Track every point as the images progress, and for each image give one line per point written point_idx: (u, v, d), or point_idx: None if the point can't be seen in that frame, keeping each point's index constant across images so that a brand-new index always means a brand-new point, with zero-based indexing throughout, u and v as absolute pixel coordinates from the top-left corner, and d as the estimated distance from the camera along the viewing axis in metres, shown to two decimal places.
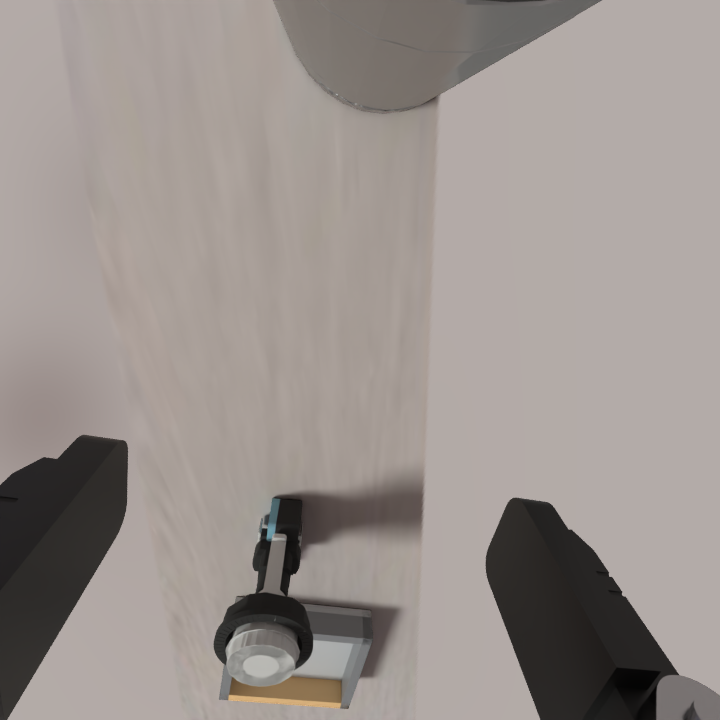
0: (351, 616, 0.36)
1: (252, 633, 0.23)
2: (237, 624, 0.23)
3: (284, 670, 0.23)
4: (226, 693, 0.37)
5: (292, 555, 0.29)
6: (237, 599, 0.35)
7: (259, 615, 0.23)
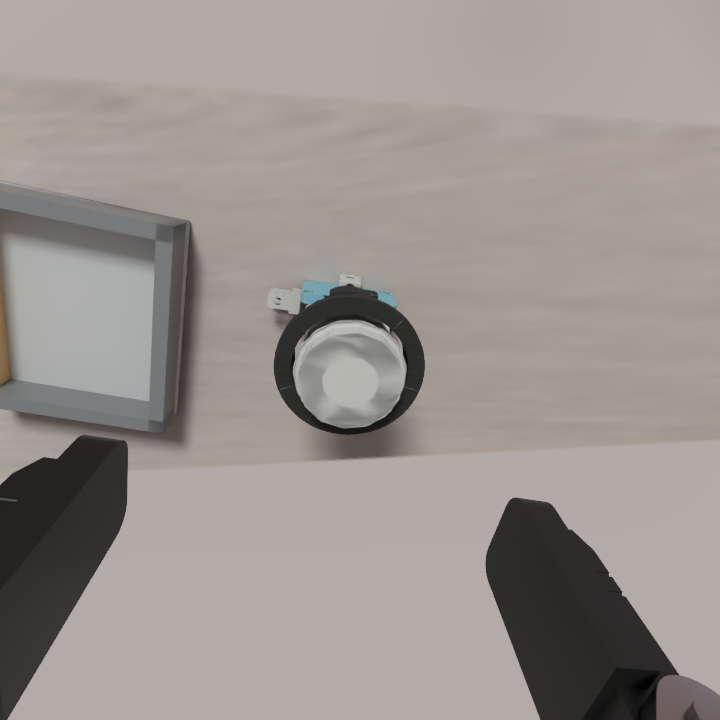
0: (174, 392, 0.25)
1: (400, 364, 0.15)
2: (405, 337, 0.15)
3: (336, 413, 0.15)
4: None
5: None
6: (188, 224, 0.22)
7: (422, 368, 0.16)
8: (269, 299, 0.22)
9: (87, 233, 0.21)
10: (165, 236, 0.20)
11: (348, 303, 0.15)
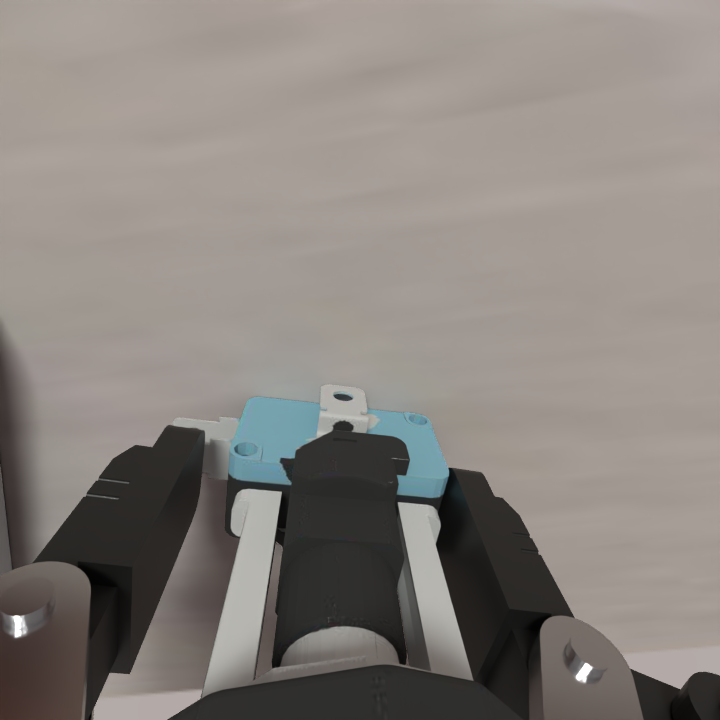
0: None
1: None
2: None
3: None
4: None
5: None
6: None
7: None
8: None
9: None
10: None
11: None
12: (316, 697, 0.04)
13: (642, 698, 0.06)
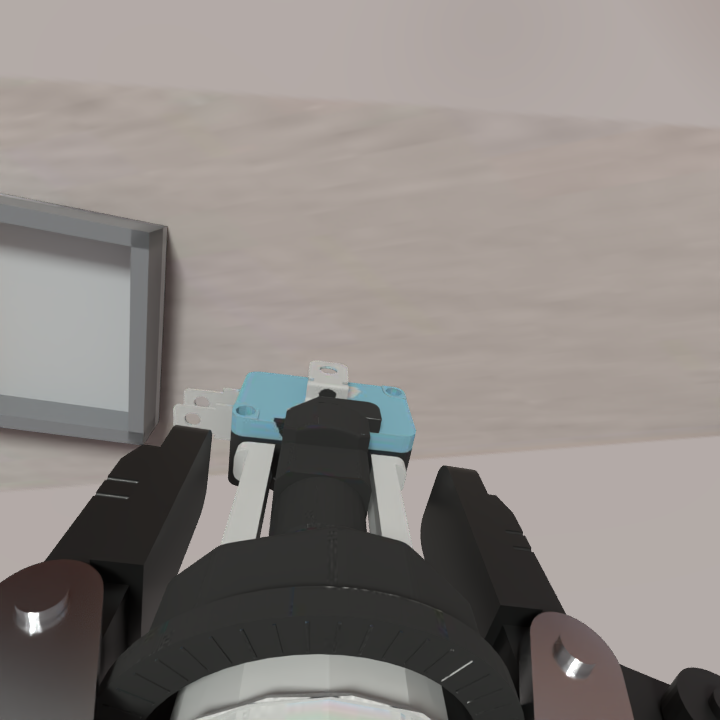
0: (155, 402, 0.24)
1: None
2: (476, 695, 0.05)
3: None
4: None
5: None
6: (165, 229, 0.21)
7: None
8: (176, 416, 0.12)
9: (59, 240, 0.21)
10: (141, 242, 0.19)
11: (296, 631, 0.04)
12: (291, 542, 0.06)
13: (632, 693, 0.06)
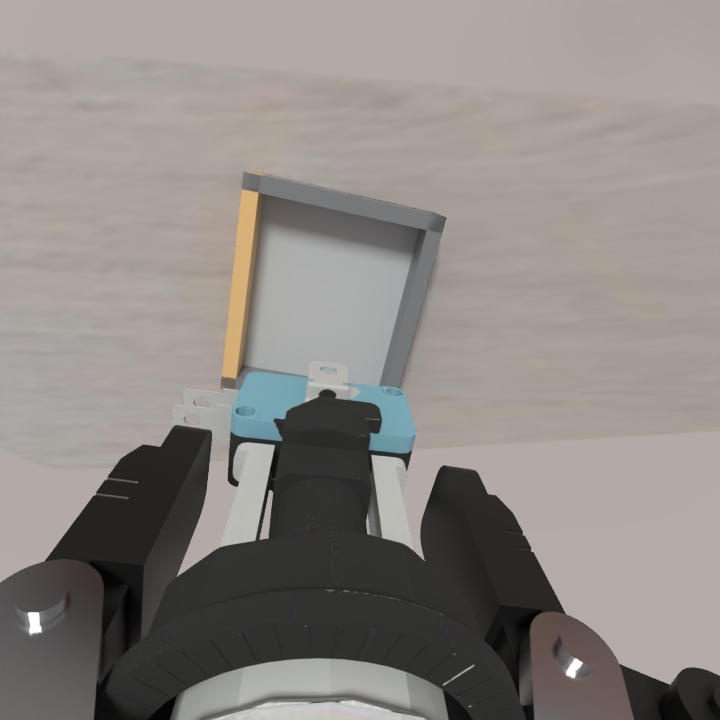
0: None
1: None
2: (478, 700, 0.05)
3: None
4: (262, 188, 0.20)
5: None
6: None
7: None
8: (176, 417, 0.12)
9: (344, 224, 0.23)
10: (436, 226, 0.21)
11: (296, 635, 0.04)
12: (290, 545, 0.06)
13: (632, 694, 0.06)
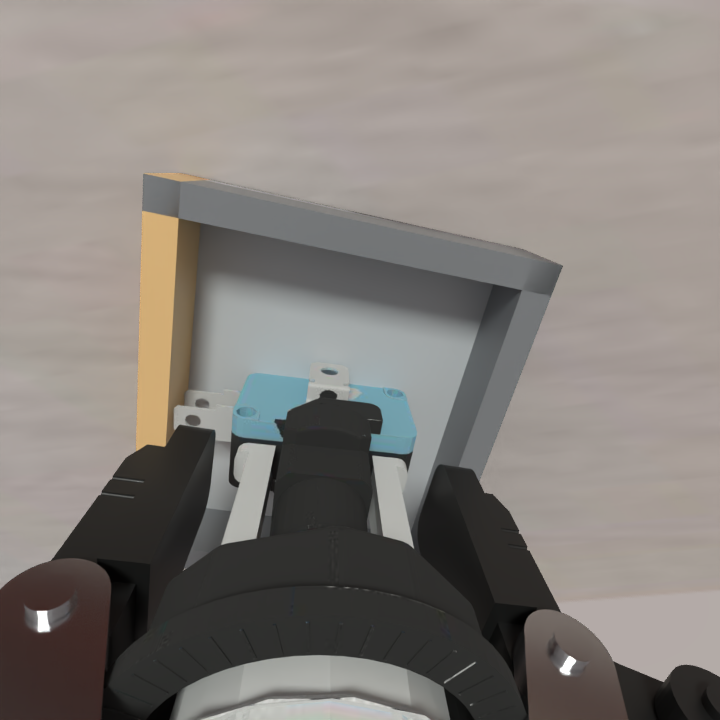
0: None
1: None
2: (479, 698, 0.05)
3: None
4: (187, 209, 0.09)
5: None
6: None
7: None
8: (177, 417, 0.12)
9: (356, 272, 0.12)
10: (541, 283, 0.11)
11: (297, 631, 0.04)
12: (291, 542, 0.06)
13: (626, 691, 0.06)
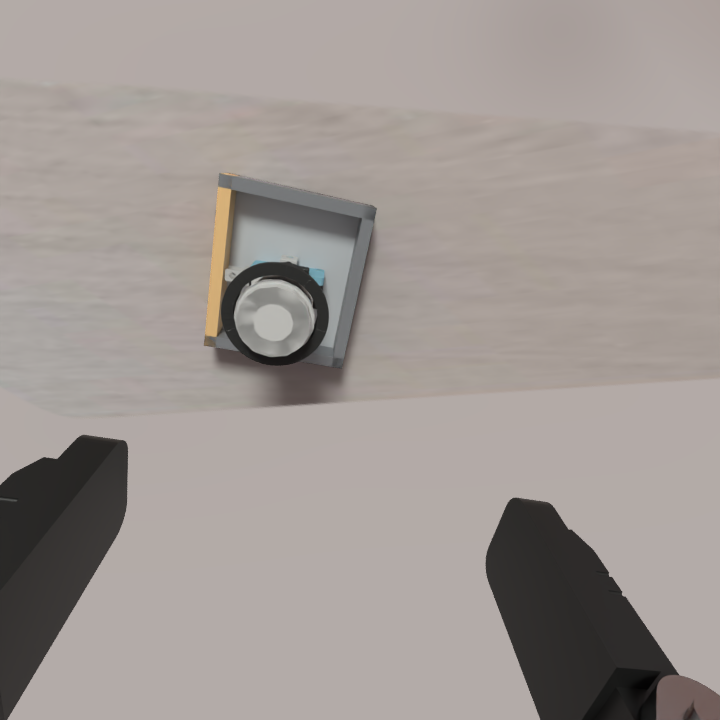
0: None
1: (309, 311, 0.22)
2: (313, 292, 0.22)
3: (264, 346, 0.22)
4: (234, 186, 0.26)
5: None
6: None
7: (327, 315, 0.22)
8: (226, 274, 0.28)
9: (300, 214, 0.29)
10: (369, 215, 0.27)
11: (271, 267, 0.21)
12: None
13: None
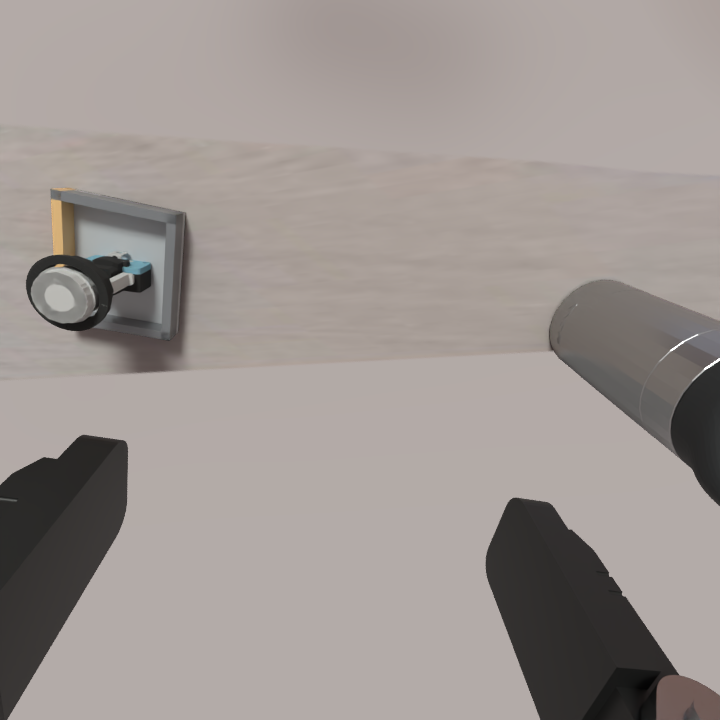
0: (176, 317, 0.41)
1: (89, 290, 0.30)
2: (92, 277, 0.30)
3: (56, 315, 0.30)
4: (63, 198, 0.35)
5: None
6: (184, 214, 0.38)
7: (106, 293, 0.31)
8: None
9: (126, 219, 0.37)
10: (171, 220, 0.36)
11: (58, 258, 0.30)
12: None
13: None
